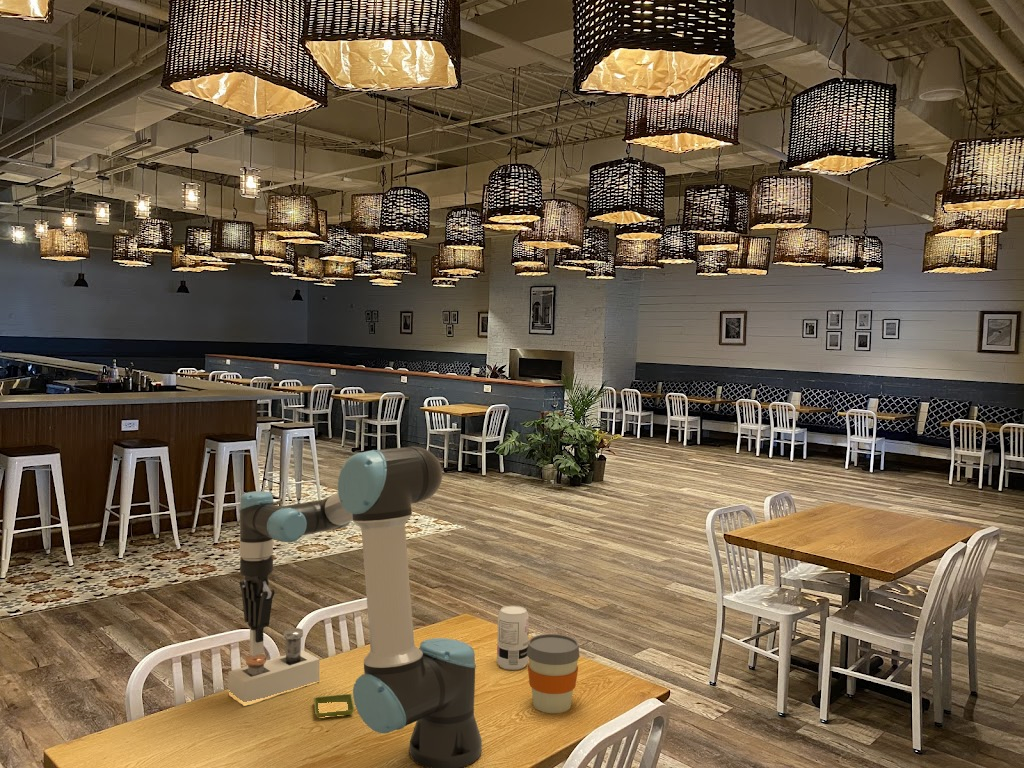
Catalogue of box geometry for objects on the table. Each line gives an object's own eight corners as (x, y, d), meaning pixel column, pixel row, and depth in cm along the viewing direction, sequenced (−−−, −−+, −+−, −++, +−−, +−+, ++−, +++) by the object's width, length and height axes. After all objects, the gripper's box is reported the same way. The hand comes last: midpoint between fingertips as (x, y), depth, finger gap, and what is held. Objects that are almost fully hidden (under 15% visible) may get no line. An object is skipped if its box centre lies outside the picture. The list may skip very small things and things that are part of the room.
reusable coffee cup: (541, 688, 199) (542, 629, 199) (587, 701, 193) (588, 640, 192) (516, 708, 189) (517, 645, 188) (563, 721, 182) (564, 657, 181)
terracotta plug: (251, 697, 189) (251, 663, 189) (242, 690, 192) (242, 657, 192) (269, 691, 192) (269, 657, 192) (260, 685, 196) (260, 652, 195)
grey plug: (289, 669, 196) (289, 636, 196) (280, 663, 199) (280, 631, 199) (306, 663, 199) (306, 631, 199) (296, 658, 202) (296, 626, 202)
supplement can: (492, 661, 216) (493, 607, 215) (519, 657, 219) (520, 603, 218) (504, 673, 208) (505, 616, 208) (532, 668, 212) (534, 612, 211)
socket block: (244, 707, 186) (244, 682, 186) (228, 696, 192) (228, 671, 191) (319, 682, 200) (319, 659, 200) (302, 672, 206) (302, 650, 206)
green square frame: (354, 718, 182) (354, 709, 182) (315, 723, 180) (315, 713, 180) (351, 702, 191) (351, 693, 191) (313, 705, 188) (313, 697, 188)
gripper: (284, 559, 189) (284, 657, 190) (257, 549, 198) (257, 642, 199) (255, 565, 183) (255, 666, 184) (229, 554, 193) (229, 650, 194)
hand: (256, 653), depth 192 cm, fingers closed
